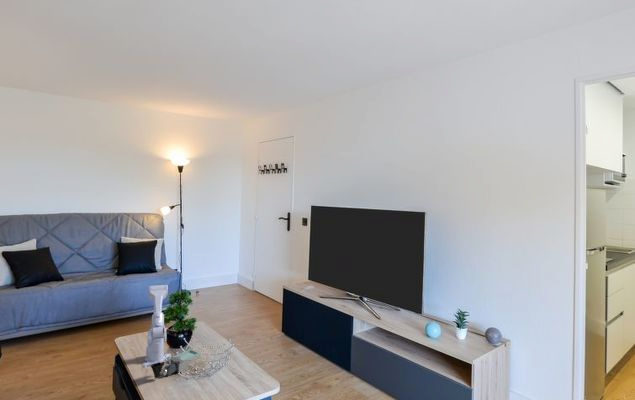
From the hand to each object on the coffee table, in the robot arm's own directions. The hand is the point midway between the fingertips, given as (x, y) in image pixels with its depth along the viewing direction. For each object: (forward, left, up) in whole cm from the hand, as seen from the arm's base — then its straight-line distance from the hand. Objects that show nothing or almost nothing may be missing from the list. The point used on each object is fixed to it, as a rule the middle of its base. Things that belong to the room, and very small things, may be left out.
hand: (156, 376), depth 179 cm
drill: (0, +9, -2) cm, 9 cm away
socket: (0, +13, -2) cm, 13 cm away
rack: (-8, +22, -2) cm, 24 cm away
